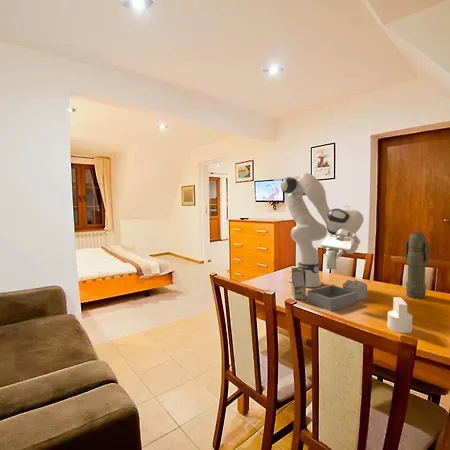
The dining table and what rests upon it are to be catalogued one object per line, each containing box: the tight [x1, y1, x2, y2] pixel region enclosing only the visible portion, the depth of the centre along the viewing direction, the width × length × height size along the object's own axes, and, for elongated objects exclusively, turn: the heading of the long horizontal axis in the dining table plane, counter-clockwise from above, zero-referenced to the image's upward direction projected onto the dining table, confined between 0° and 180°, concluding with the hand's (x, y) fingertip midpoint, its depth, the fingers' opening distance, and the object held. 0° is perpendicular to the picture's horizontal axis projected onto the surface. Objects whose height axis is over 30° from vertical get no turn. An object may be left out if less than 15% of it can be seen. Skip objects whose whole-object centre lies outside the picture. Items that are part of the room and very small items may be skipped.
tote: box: [306, 284, 357, 312], centre depth 154 cm, size 16×19×6 cm
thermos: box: [404, 232, 431, 300], centre depth 157 cm, size 9×12×35 cm
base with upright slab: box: [386, 296, 414, 334], centre depth 122 cm, size 9×9×12 cm
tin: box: [326, 250, 337, 270], centre depth 152 cm, size 5×5×9 cm
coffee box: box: [290, 266, 307, 300], centre depth 163 cm, size 9×6×16 cm
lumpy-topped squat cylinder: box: [342, 279, 368, 301], centre depth 161 cm, size 10×13×9 cm
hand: (331, 256), depth 151 cm, fingers closed on tin, 5 cm apart
